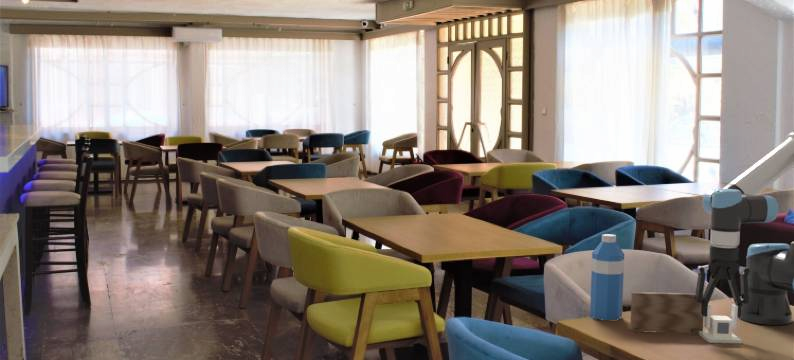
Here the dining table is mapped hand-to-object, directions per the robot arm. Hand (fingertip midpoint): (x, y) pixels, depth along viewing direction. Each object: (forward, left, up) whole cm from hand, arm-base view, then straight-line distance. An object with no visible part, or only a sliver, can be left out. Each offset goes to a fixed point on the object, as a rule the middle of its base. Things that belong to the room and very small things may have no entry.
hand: (720, 327), depth 242 cm
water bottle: (+27, -21, -3) cm, 34 cm away
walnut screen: (+13, -6, -3) cm, 15 cm away
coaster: (0, 0, -3) cm, 3 cm away
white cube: (0, 0, -2) cm, 2 cm away
